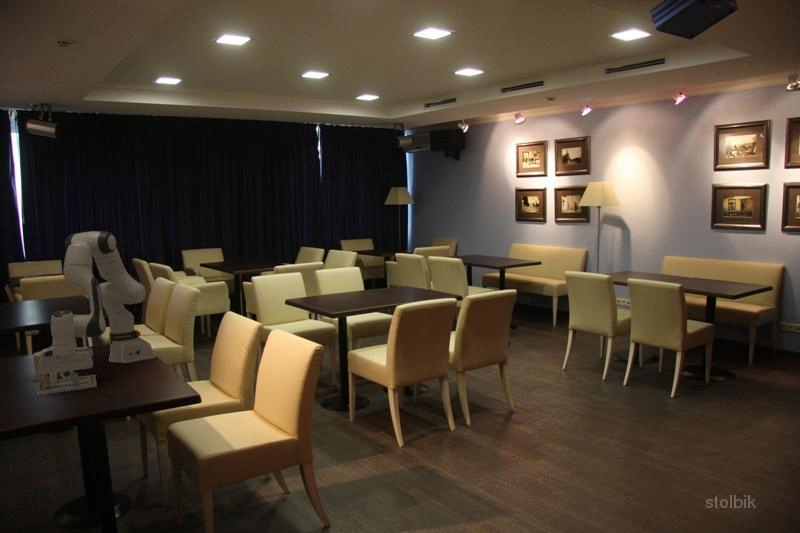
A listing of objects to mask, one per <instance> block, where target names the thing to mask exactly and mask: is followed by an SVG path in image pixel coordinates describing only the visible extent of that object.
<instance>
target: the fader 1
mask: <svg viewBox="0 0 800 533" xmlns="http://www.w3.org/2000/svg"><path fill="white" fill-rule="evenodd" d="M57 380H58V373H51V374H50V384H53V383H57Z"/></svg>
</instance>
